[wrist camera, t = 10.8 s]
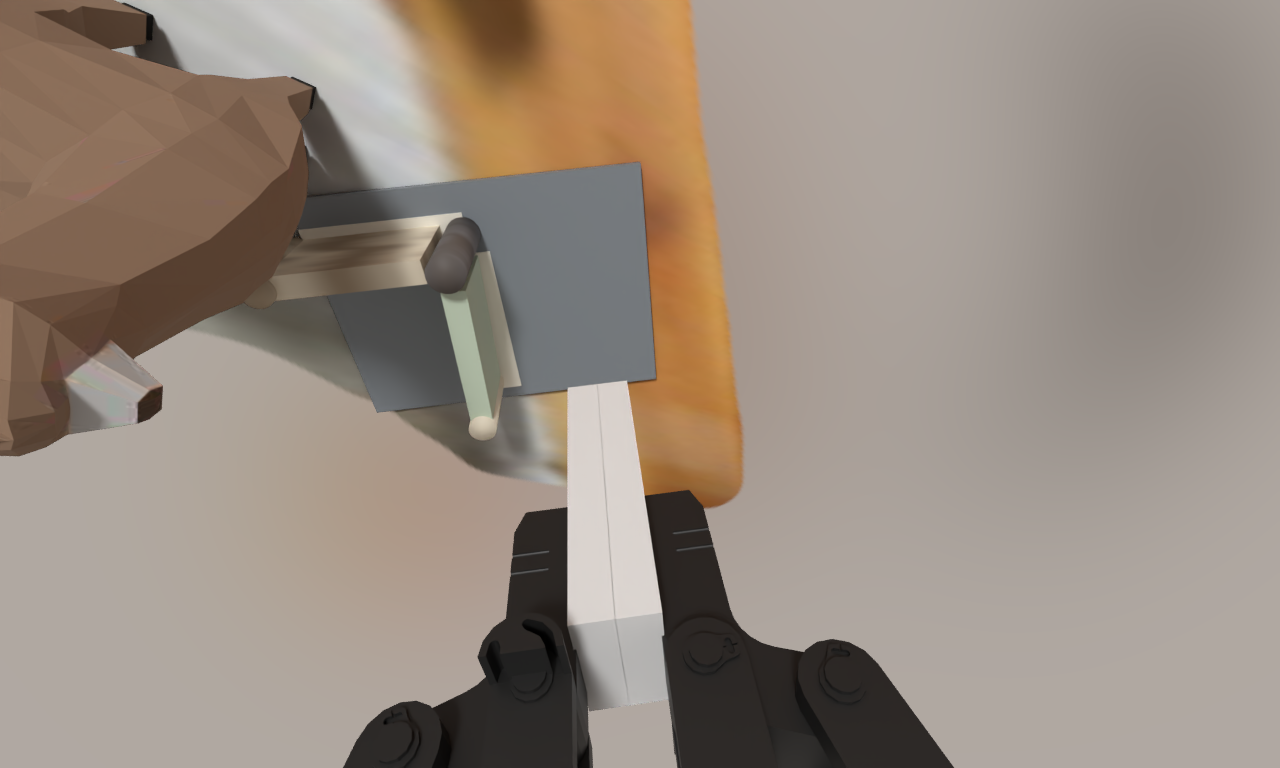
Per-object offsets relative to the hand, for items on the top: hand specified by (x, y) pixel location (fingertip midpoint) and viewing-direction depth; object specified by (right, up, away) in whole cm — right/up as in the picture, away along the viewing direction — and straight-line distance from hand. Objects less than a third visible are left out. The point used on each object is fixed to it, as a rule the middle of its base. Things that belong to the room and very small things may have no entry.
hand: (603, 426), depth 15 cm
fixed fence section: (-17, +11, +25) cm, 33 cm away
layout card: (-10, +8, +29) cm, 32 cm away
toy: (-24, +19, +20) cm, 37 cm away
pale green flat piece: (-11, +5, +29) cm, 32 cm away
